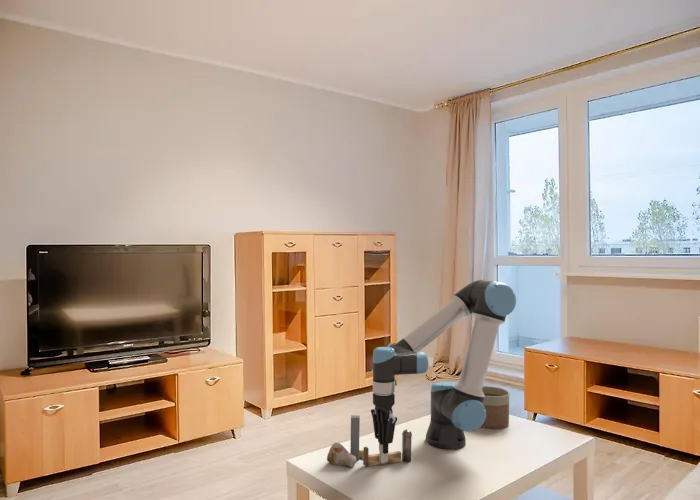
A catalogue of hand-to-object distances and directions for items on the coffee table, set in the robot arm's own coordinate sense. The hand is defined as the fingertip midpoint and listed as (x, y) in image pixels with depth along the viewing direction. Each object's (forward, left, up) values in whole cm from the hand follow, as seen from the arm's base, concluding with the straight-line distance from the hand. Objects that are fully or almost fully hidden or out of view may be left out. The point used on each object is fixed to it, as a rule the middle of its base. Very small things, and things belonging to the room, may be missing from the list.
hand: (383, 461), depth 177 cm
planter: (-46, -47, -2) cm, 66 cm away
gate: (0, -2, -1) cm, 2 cm away
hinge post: (-8, -5, -2) cm, 10 cm away
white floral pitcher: (+14, 0, -2) cm, 14 cm away
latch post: (+9, -6, -2) cm, 10 cm away
